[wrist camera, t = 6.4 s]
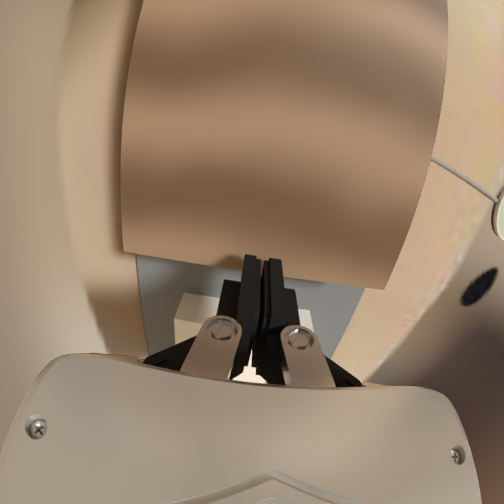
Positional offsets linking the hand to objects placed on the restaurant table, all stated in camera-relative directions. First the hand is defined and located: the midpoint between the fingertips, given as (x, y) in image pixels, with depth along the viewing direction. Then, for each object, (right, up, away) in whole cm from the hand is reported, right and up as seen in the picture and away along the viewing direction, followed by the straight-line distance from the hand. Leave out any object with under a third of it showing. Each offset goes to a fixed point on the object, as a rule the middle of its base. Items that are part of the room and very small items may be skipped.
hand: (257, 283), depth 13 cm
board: (+2, +11, -1) cm, 11 cm away
